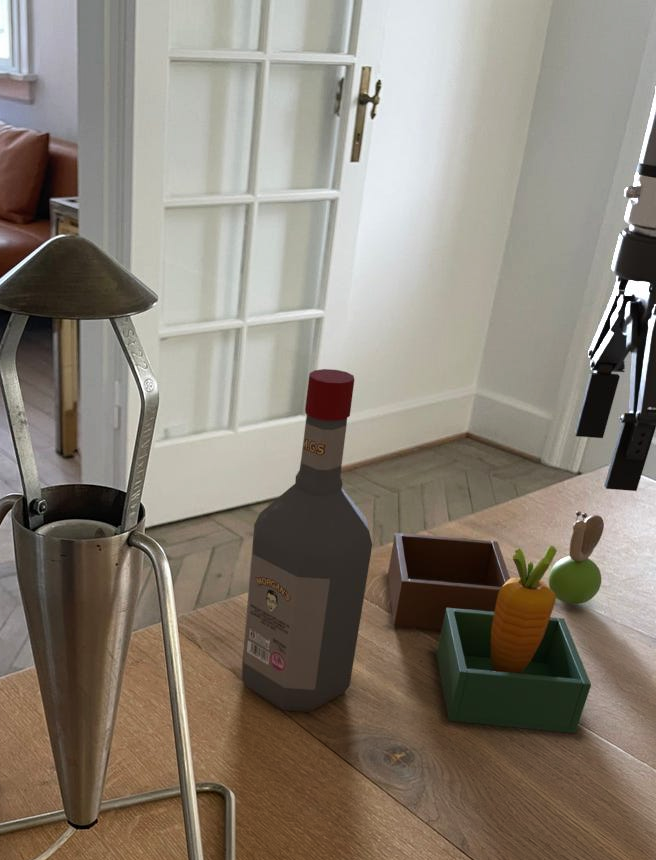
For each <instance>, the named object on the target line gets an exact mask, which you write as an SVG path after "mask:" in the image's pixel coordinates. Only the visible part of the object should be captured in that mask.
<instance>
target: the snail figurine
mask: <svg viewBox="0 0 656 860" xmlns="http://www.w3.org/2000/svg"><path fill="white" fill-rule="evenodd" d="M575 515H576V519H575V522H574V523H573V525H572V533H571V536H570V541H569V555H568V556H565V557H563V558H561V559H559V560H558V561H557V562H556V563H555V564H554V565H553V566H552V567H551V569H550V570H549V571H550V572H549V574H548V587H549V588H550V589H551V590H552V591H553V592H554V594H555V599H557V600H558V601H560V602H561V603H565V604H568V605H581V604H585V603H587V602H589V601H590V600H592V599H593V598H594V597H595V596H596V595H597V594H598V592H599V590H600V588H601V586H602V574H601V570H600V568H599V567H598V565H597V564H596V563H595V562H594V561H593V560H592V559H590V558H589V557H591V555H592V554H593V552H594V550H595V548H597V546H598V544H599V542H600V541H601V538H602V536H603V532H604V529H605V527H604V526H605V522H604V519H603V517H601V515H599V514H598V515H597V514H592V515H590V516H588V514H587V513H586V512H583V513H582V511H581V510H577V511H576V512H575ZM580 516H581V518H582V520H581V519H579V517H580Z"/></svg>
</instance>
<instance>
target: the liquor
mask: <svg viewBox="0 0 656 860" xmlns="http://www.w3.org/2000/svg"><path fill="white" fill-rule="evenodd" d="M354 386H355V376H354V375H353V374H351V372H350V373H349V372H347V371H343V370H339V369H331V368H330V369H329V368H328V369H327V368H323V369H322V368H321V369H315V370H313V371H311V372H309V374H308V383H307V391H306V398H305V407H304V413H305V414H306V417H305V425H304V431H303V440H302V441H303V442H302V450H301V457H300V463H299V470H298V471H297V473H296V475H295V480H294V484H293V485H291V486H290V487H289V488H288V489H286V491H284V492H283V493H282V494H281V495H279V497H277V498H276V499H275V500H274V501H272V502H271V503H269V505H267V506H266V507H265V508H264V509H262V510H261V511H260V512H259V514H258V516H257V518H256V520H255V522H254V523H253V535H252V547H251V557H250V570H249V581H248V594H247V605H246V617H245V628H244V639H243V650H242V651H243V652H242V663H241V664H242V665H241V667H242V668H241V680H242V682H243V684H244V685H245V687H246V688H247V689H249V690H251V691H252V692H254V693H255V694H257V695H259V696H260V697H261V698H263V699H264V700H266V701H267V702H269V703H271V704H272V705H274V706H275V707H277V708H279V709H280V710H282V711H285V712H304V713H310V712H312V711H314V710H316V709H317V708H320V707H321V706H323V705H325V704H327V703H329V702H330V701H332V700H333V699H336V698H337V697H339V696H341V695H342V694H344V693H345V692H346V691H347V689H348V688H350V686H351V679H352V674H353V668H354V661H355V655H356V648H357V641H358V636H359V630H360V625H361V618H362V612H363V611H362V610H363V606H364V600H365V599H364V598H365V593H366V588H367V587H366V586H367V581H368V574H369V568H370V562H371V557H372V549H373V542H372V537H371V533H370V529H369V525H368V521H367V518H366V517H365V515H364V514H363V512H362V511H361V510H360V509H359V508H358V506H357V504H355V502H354V501H353V500H352V499H351V498H350V496H349V495H348V494H347V492H346V491H345V490H344V488H343V485H344V482H343V479H342V465H343V458H344V449H345V443H346V442H345V441H346V432H347V427H348V426H347V424H348V418H350V417H351V410H352V401H353V396H354V395H353V394H354Z"/></svg>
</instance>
